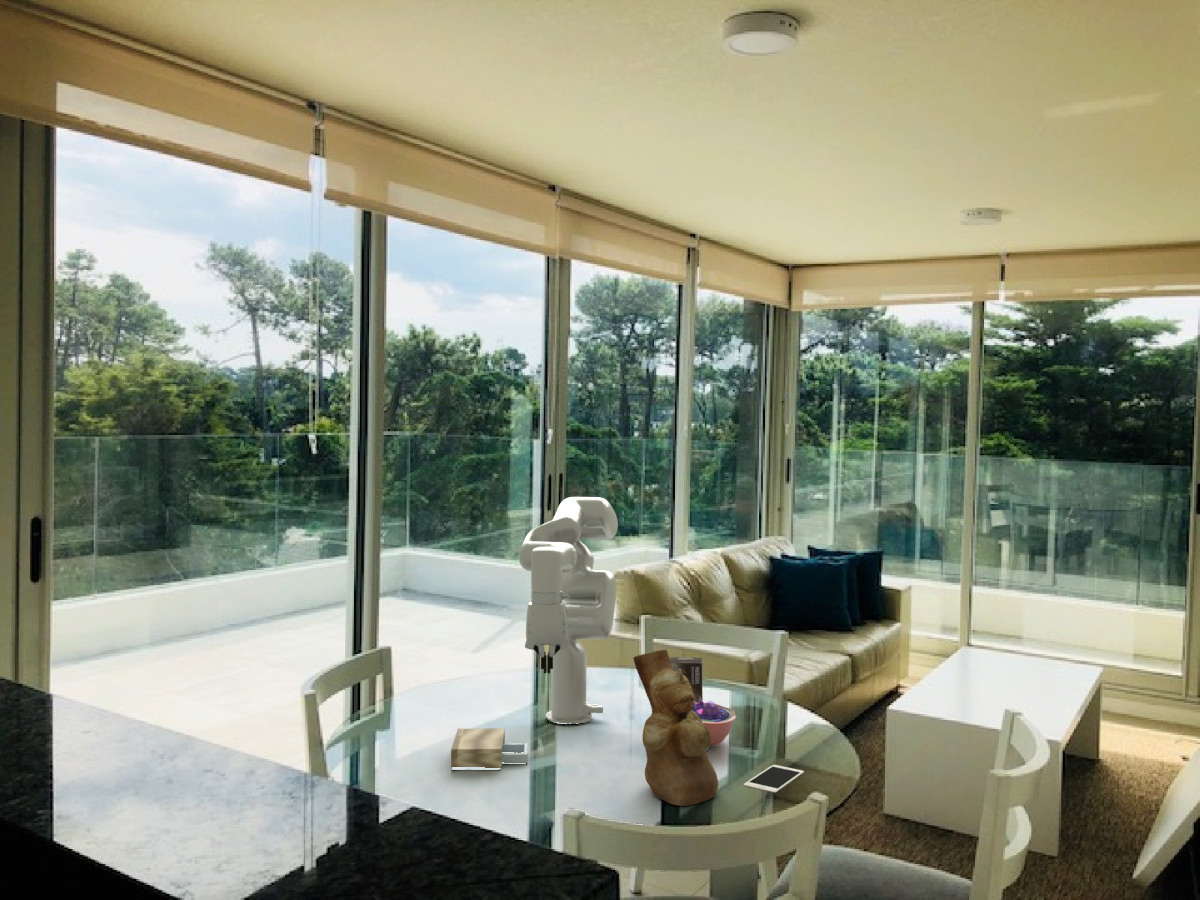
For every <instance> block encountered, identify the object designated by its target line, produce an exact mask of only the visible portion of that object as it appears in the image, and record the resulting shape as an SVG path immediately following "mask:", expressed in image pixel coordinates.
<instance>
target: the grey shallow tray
mask: <svg viewBox="0 0 1200 900" xmlns="http://www.w3.org/2000/svg"><path fill="white" fill-rule="evenodd" d="M502 752H514V753H502V762H504V763H527V764H528V760H527V758H528V757H529V744H528V742H527V743H525V742H523V743H520V742H519V743H516V742H515V743H512V742H511V743H505V744H503V746H502ZM516 752H517V753H516ZM521 752H524V753H521Z"/></svg>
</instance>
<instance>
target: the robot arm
mask: <svg viewBox="0 0 1200 900" xmlns="http://www.w3.org/2000/svg"><path fill="white" fill-rule="evenodd" d="M618 521H619V520H618V517H617V514H616V511H615V510H614V509H613V506H612V505H611V504H610V502H609V501H608V500H607V499H606V498H603V497H598V496H595V497H594V496H570V497H567V498H565V499H563V500H562V501H561V502H560V504H559V505H558V507H557V510H556V512H555V514H554V516H553V518H552V520H550V521H547V522H545V523H543V524H541V525H539V526H536V527H535V528H533V529H531V530H529V532H528V533H527V535H526V536H525V538H524V540H523V541H522V544H521V547H520V549H519V556H518V557H519V563H520V566H521V568H522V569H523V570H525V571H528V572H531V574H530V575H531V576H530V578H531V579H530V581H531V582H530V583H531V586H530V587H531V588H530V589H531V591H530V592H531V594H530V595H531V597H530V599H531V601H530V602H528V604H527V611H526V621H525V638H526V640H525V642H524V643H525V644H524V648H525V649H527V650H533V651H534V652H535V653H537V654H538V655H539V657H540V670H543V674H551V676H550V677H551V684H550V686H551V693H550V695H551V697H550V700H551V701H550V704H551V705H550V709H551V710H550V711H547V712H546V714H545V719H546V718H547V719H548V720H551V721H555V722H559V723H567V724H569V723H571V724H576V723H584V724H587V723H589V722H591V720H592V719H593V714H604V706H603V705H599V704H590V703H588V699H587V652H586V650H585V648H584V646H583V645H582V643H581V642H580V640H598V641H599V640H605V639H608V638H609V637H610V636H611V633H612V631H613V627H614V626H613V625H614V617H615V609H616V600H617V585H618V584H617V579H616V576H615V575H614V574H613V572H611V571H608V570H602V569H594V563H595V562H594V561H595V557H594V555H593V554H592V552H591V550H590V549H589V548H588V547H587V545H585V543H583V542H582V541H581V540H596V541H597V540H598V541H599V540H600V541H601V540H602V541H603V540H604V541H607V540H608V541H609V540H612V539H614V538H615V536H616V535H617V532H618V529H619V528H618V527H619V526H618V525H619V522H618ZM545 646H549V651H548V652H547V653H546V652H545Z"/></svg>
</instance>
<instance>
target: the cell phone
mask: <svg viewBox="0 0 1200 900" xmlns="http://www.w3.org/2000/svg"><path fill="white" fill-rule="evenodd" d="M804 773H805V771H804V770H801V769H798V768H797V769H796V768H792V767H788V766H787V767H786V766H783V765H778V764H777V765H776V764H772V765H771V766H769V767H767V768H766V769H764V770H763V771H761V772H759V773H758V774H756V775H755V776H754V777H752V778H751V779H749V780H747V781H746V782H745V783H744V784H743V786H744V787H747V788H752V789H757V790H762V791H766V792H769V793H773V794H774V793H775V794H776V793H777V792H779V791H780V790H781V789H783V788H785V787H786V786H787V785H789V784H790V783H792V782H793V781H794V780H796V779H797V778H798V777H799V776H801V775H803V774H804Z"/></svg>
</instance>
